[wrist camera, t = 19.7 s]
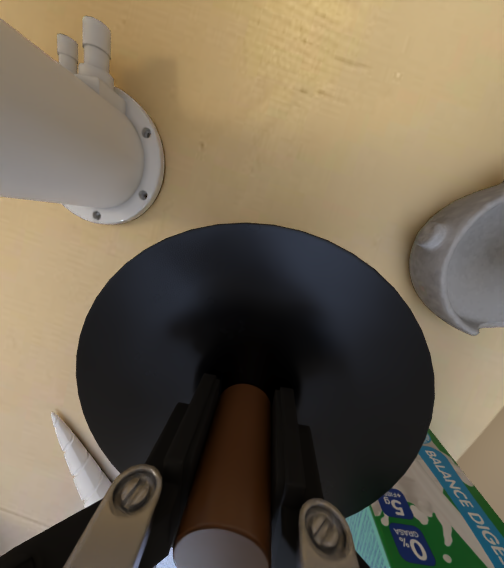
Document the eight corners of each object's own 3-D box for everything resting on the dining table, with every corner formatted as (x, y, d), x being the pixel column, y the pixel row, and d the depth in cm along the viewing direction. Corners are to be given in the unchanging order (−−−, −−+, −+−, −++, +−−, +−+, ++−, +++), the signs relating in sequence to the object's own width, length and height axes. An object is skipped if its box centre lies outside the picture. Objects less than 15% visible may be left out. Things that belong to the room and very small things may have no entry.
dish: (573, 294, 23) (654, 312, 18) (426, 344, 25) (463, 372, 20) (542, 147, 20) (627, 121, 15) (383, 218, 23) (413, 216, 18)
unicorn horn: (77, 401, 31) (43, 432, 26) (153, 529, 36) (136, 575, 31) (49, 410, 32) (10, 441, 27) (127, 534, 36) (106, 579, 32)
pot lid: (88, 198, 10) (-187, 153, 4) (472, 253, 9) (842, 302, 3) (96, 480, 14) (-37, 671, 8) (367, 535, 13) (448, 792, 7)
